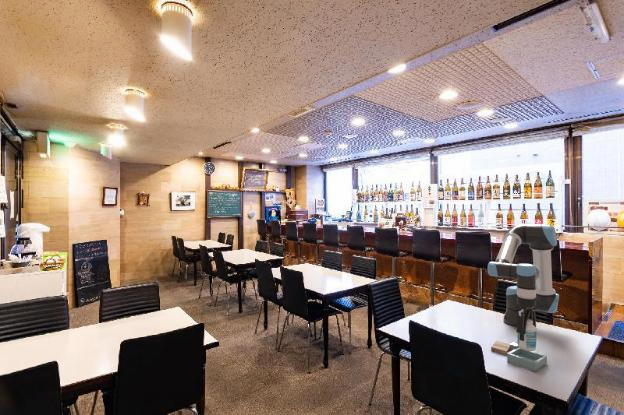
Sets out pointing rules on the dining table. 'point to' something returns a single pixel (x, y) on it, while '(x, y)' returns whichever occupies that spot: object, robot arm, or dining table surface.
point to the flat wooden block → (501, 347)
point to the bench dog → (513, 346)
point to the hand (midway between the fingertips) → (526, 344)
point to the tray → (527, 359)
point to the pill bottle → (529, 337)
